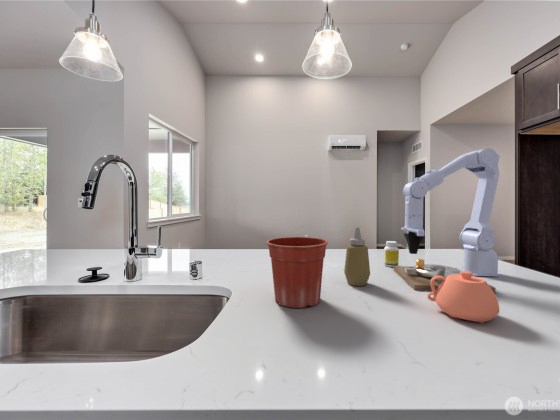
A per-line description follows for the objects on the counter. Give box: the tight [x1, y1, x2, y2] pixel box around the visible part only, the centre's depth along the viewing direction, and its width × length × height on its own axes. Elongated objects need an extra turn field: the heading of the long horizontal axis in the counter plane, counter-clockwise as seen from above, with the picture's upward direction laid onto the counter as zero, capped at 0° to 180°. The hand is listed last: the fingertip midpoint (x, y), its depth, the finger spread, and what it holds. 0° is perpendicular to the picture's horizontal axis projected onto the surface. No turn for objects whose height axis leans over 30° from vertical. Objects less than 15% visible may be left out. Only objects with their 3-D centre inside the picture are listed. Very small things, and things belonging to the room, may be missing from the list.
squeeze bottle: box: [343, 227, 371, 287], centre depth 86 cm, size 8×8×18 cm
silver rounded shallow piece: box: [405, 258, 461, 278], centre depth 89 cm, size 17×14×4 cm
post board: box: [392, 265, 497, 294], centre depth 89 cm, size 22×22×6 cm
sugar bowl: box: [427, 271, 500, 324], centre depth 63 cm, size 12×14×10 cm
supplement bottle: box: [383, 240, 400, 268], centre depth 108 cm, size 5×5×10 cm
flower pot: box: [266, 236, 329, 309], centre depth 72 cm, size 16×16×16 cm
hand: (413, 253), depth 96 cm, fingers closed
